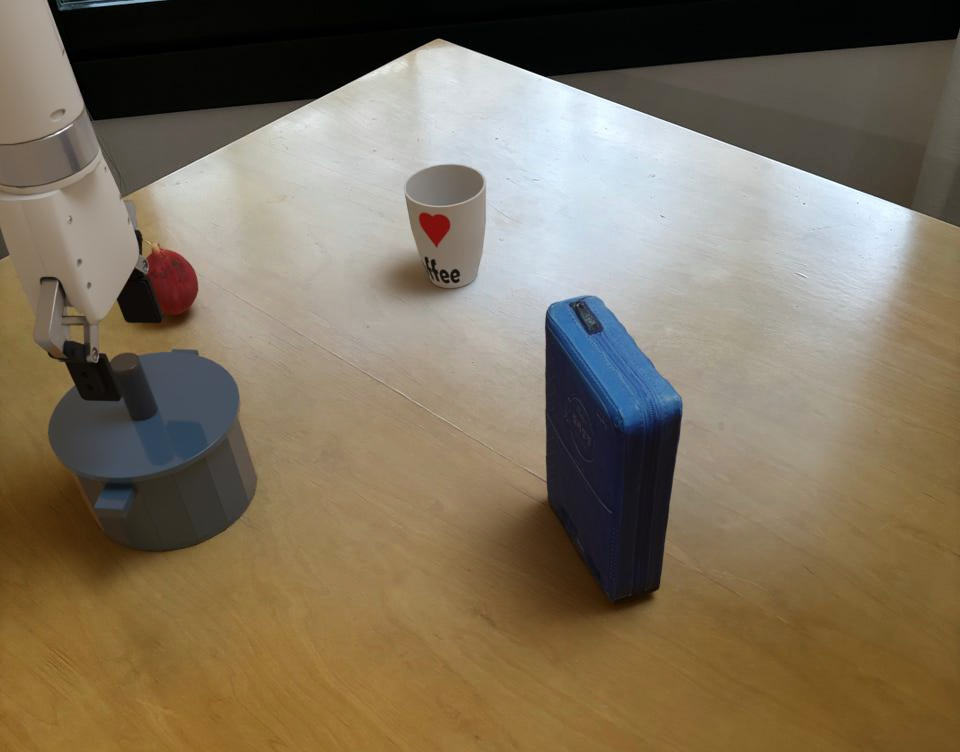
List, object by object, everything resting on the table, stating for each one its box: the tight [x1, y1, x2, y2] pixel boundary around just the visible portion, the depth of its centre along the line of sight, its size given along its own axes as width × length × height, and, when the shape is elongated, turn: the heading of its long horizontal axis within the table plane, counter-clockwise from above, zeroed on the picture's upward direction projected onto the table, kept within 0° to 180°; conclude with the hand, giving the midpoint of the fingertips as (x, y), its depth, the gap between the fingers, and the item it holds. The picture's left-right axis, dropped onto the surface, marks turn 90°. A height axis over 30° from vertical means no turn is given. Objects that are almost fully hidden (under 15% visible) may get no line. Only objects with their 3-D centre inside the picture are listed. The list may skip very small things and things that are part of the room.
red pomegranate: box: [144, 242, 199, 316], centre depth 109 cm, size 6×6×8 cm
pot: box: [68, 348, 258, 552], centre depth 92 cm, size 15×20×8 cm
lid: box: [47, 351, 242, 483], centre depth 87 cm, size 16×16×6 cm
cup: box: [403, 163, 487, 289], centre depth 110 cm, size 8×8×10 cm
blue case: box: [544, 294, 684, 605], centre depth 80 cm, size 14×5×20 cm, turn 21°
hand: (124, 358), depth 84 cm, fingers open, 9 cm apart
